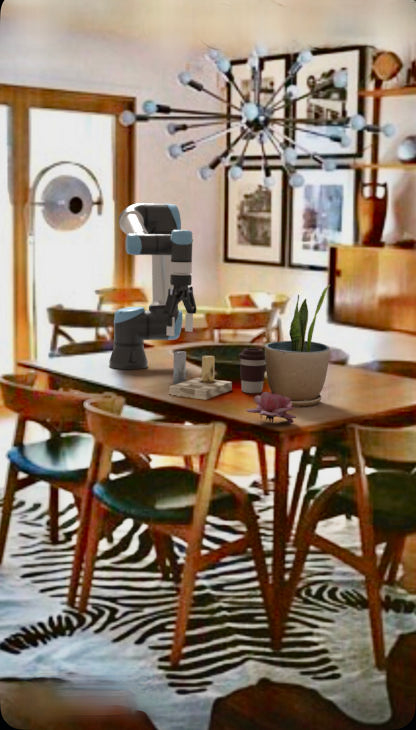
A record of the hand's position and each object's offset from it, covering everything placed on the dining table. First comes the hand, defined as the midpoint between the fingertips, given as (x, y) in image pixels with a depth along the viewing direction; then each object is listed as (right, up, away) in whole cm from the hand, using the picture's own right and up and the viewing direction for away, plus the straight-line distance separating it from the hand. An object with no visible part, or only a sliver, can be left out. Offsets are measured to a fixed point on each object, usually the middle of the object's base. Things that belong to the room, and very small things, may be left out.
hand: (179, 333), depth 361 cm
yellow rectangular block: (+10, -20, -5) cm, 23 cm away
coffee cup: (+26, -21, -5) cm, 33 cm away
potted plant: (+39, -24, -22) cm, 51 cm away
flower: (+29, -29, -54) cm, 68 cm away
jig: (+8, -21, -10) cm, 24 cm away
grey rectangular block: (0, -18, +3) cm, 19 cm away
